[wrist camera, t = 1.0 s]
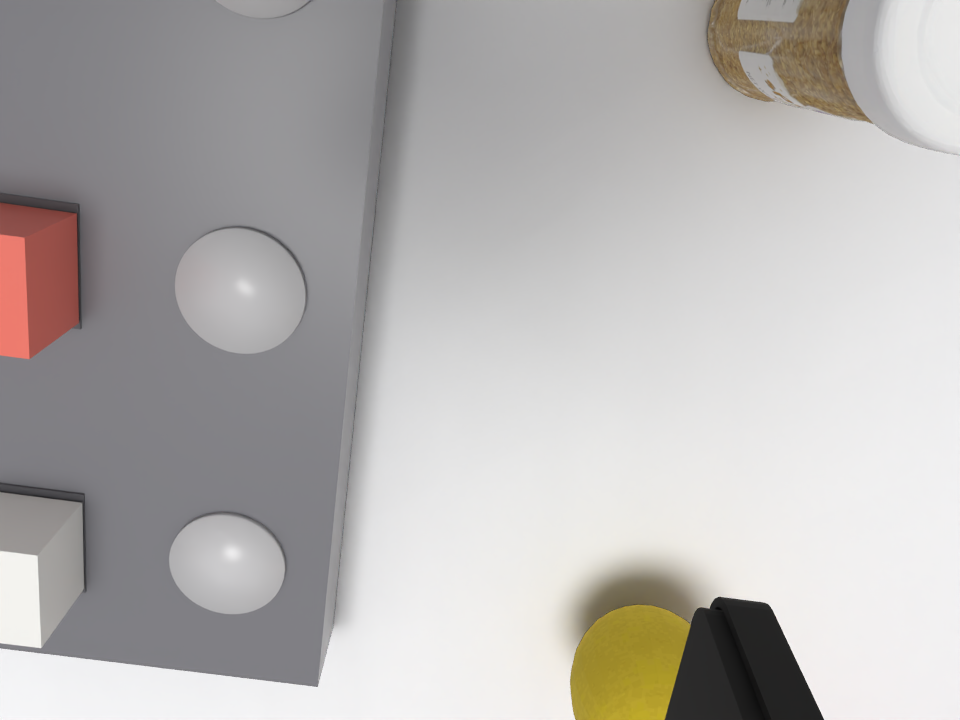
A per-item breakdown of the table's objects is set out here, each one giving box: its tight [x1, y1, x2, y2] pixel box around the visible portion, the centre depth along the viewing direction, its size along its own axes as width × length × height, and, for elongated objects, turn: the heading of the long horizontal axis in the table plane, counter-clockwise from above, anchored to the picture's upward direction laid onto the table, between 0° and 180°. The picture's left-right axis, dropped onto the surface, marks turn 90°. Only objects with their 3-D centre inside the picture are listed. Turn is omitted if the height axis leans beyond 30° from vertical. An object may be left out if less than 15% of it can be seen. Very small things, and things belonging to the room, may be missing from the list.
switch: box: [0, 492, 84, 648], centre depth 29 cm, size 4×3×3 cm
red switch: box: [0, 203, 79, 359], centre depth 26 cm, size 4×3×3 cm
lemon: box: [570, 605, 691, 720], centre depth 32 cm, size 6×6×8 cm
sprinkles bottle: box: [708, 0, 960, 155], centre depth 22 cm, size 5×5×14 cm
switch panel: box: [0, 0, 397, 687], centre depth 29 cm, size 30×16×4 cm, turn 172°
